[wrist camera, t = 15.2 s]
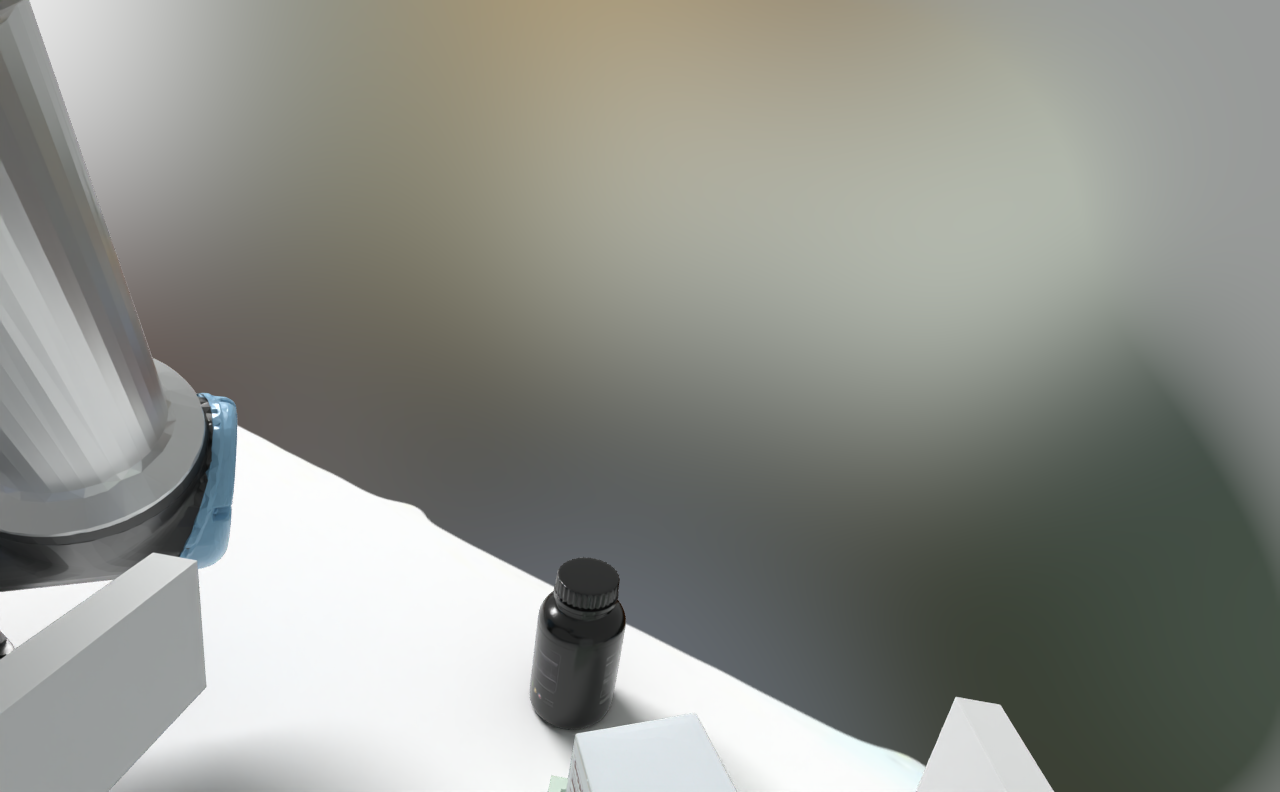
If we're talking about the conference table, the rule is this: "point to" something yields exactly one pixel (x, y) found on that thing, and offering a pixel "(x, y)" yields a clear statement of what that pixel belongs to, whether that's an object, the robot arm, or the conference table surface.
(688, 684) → the conference table surface
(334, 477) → the conference table surface
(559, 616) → the supplement bottle
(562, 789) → the pale green tray
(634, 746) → the supplement box
